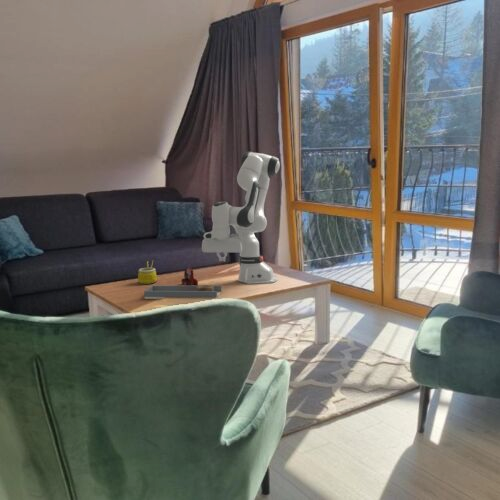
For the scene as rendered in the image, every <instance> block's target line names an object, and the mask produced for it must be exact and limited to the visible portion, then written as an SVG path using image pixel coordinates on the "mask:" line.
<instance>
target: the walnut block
mask: <svg viewBox="0 0 500 500" xmlns="http://www.w3.org/2000/svg"><path fill="white" fill-rule="evenodd" d="M197 286H198V287H197V288H196V290H197V291H214V286H215V285H214V284H213V285H212V284H209V285H207V284H198V285H197Z"/></svg>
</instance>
